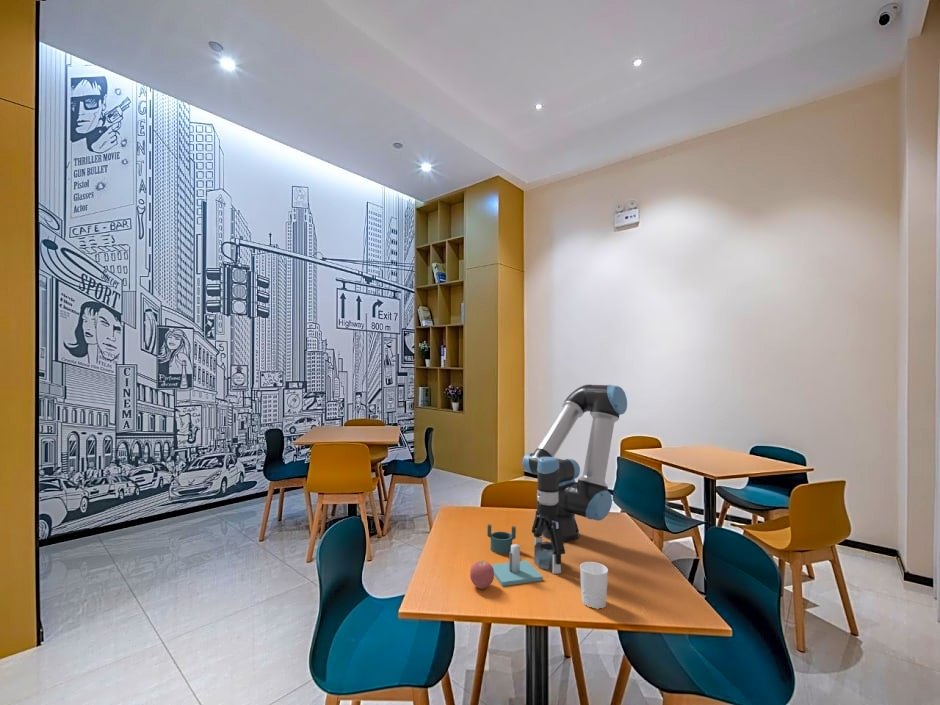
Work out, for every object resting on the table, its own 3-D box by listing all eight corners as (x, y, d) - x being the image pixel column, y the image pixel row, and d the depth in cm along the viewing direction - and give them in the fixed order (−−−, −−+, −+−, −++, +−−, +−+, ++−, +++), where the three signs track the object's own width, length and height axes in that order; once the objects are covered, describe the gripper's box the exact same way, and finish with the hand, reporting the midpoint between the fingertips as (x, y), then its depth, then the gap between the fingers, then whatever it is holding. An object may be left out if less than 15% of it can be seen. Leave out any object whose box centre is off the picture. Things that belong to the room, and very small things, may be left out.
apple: (470, 580, 131) (470, 554, 132) (493, 581, 131) (493, 555, 131) (469, 592, 124) (470, 565, 124) (494, 593, 124) (494, 566, 124)
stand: (526, 563, 144) (527, 537, 144) (542, 580, 132) (542, 551, 133) (489, 568, 140) (489, 540, 140) (502, 586, 128) (502, 555, 129)
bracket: (517, 551, 154) (517, 526, 155) (497, 556, 149) (497, 530, 150) (503, 542, 162) (504, 519, 162) (484, 547, 157) (484, 523, 158)
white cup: (576, 596, 123) (576, 561, 124) (601, 595, 124) (601, 561, 124) (585, 611, 115) (585, 574, 116) (612, 610, 116) (612, 573, 116)
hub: (552, 557, 149) (552, 540, 149) (564, 568, 141) (564, 550, 141) (531, 560, 147) (531, 543, 147) (542, 571, 138) (542, 552, 139)
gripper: (523, 493, 156) (522, 550, 154) (555, 514, 132) (554, 582, 131) (541, 491, 158) (540, 548, 157) (576, 512, 134) (575, 579, 133)
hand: (547, 564), depth 144 cm, fingers open, 13 cm apart
